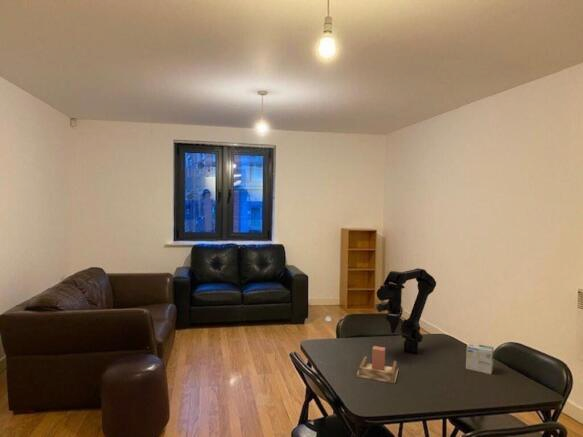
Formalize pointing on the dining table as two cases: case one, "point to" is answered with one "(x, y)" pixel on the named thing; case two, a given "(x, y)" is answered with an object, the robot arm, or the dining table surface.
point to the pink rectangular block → (378, 358)
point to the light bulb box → (479, 358)
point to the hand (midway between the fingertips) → (393, 330)
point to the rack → (378, 372)
